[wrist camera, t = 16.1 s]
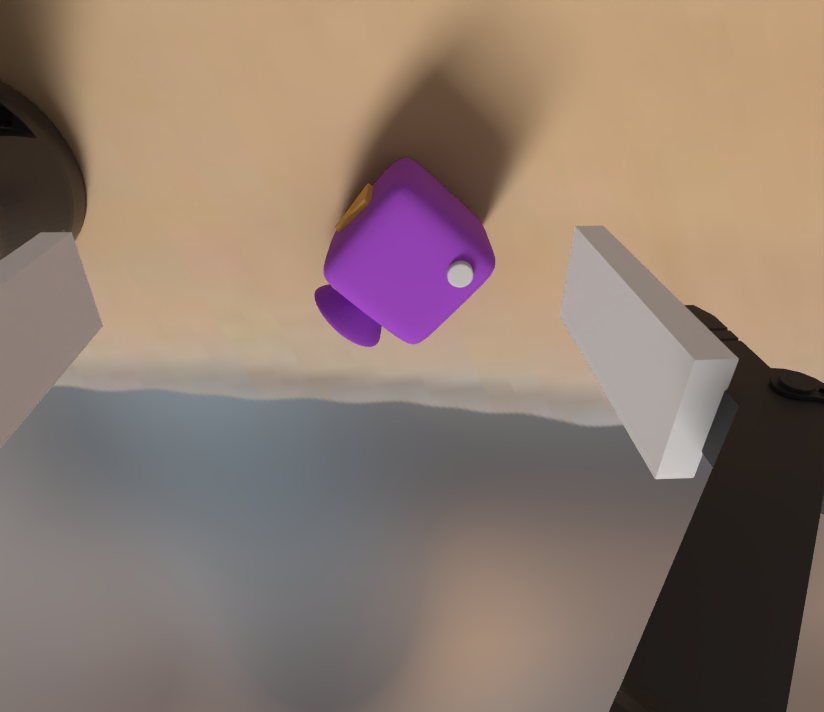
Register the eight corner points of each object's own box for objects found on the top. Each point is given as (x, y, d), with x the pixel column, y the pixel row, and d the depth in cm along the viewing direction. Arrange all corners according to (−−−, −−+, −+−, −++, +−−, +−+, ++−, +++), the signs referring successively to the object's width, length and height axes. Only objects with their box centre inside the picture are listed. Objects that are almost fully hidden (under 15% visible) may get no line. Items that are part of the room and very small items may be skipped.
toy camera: (303, 279, 48) (280, 336, 39) (380, 135, 42) (373, 164, 33) (411, 335, 51) (412, 399, 42) (497, 207, 45) (519, 251, 36)
